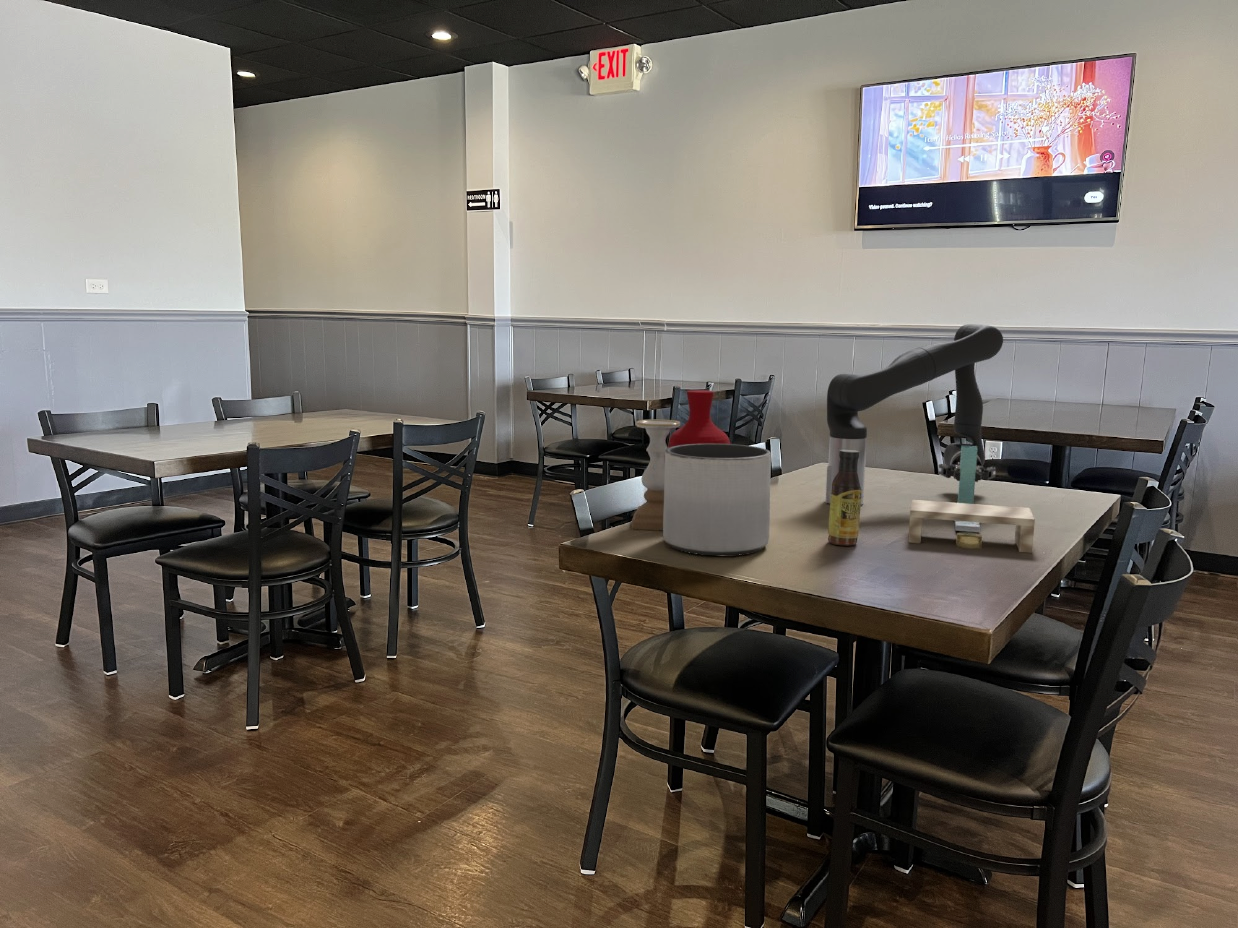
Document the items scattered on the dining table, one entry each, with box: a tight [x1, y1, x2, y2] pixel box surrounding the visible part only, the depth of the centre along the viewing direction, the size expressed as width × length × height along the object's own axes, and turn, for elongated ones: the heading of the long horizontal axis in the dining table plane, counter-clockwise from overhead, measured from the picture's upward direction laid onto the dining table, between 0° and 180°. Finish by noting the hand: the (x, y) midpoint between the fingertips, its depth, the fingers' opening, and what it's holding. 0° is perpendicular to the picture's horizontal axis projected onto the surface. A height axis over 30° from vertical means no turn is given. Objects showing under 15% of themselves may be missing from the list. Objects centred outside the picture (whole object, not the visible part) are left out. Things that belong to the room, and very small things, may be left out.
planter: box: [662, 443, 772, 556], centre depth 183 cm, size 22×22×20 cm
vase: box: [667, 389, 731, 448], centre depth 211 cm, size 15×15×30 cm
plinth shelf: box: [908, 499, 1036, 554], centre depth 188 cm, size 24×12×7 cm, turn 70°
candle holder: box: [631, 418, 682, 531], centre depth 200 cm, size 11×11×24 cm
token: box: [955, 531, 983, 550], centre depth 185 cm, size 5×5×2 cm
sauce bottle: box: [827, 450, 862, 547], centre depth 185 cm, size 6×6×20 cm
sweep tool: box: [954, 445, 981, 533], centre depth 205 cm, size 5×24×16 cm, turn 160°
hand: (967, 477), depth 212 cm, fingers closed on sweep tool, 3 cm apart
